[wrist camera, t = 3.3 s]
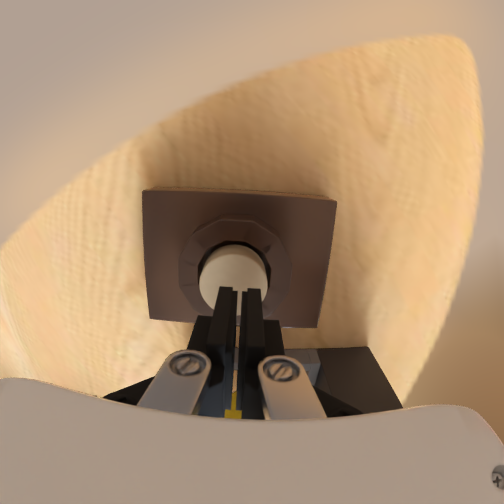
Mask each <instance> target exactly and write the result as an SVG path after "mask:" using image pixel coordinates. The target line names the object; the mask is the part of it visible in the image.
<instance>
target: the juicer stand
mask: <svg viewBox="0 0 504 504" xmlns="http://www.w3.org/2000/svg"><path fill="white" fill-rule="evenodd" d="M238 352H239V348H235V359H234V370H238ZM284 352H285V356H289V357H292V358H294V359H296V360H297V361H299V362H300V363H301V364H302V366H303V367H304V369H305V371H306V373H307V375H308V378H309V380H310V382H311V384H312V385H313V386H315V387H317V388H319V389H320V390H322V391H324V392H326V393H328V394H330V395H331V396H333V397H335V398H337V399H339V400H341V401H343V402H345V403H347V404H349V405H351V406H353V407H355V408H356V409H358V410H360V411H361V412H363V414H370V412H373V413H377V412H383V411H390V410H397V409H403V407H402V405H401V403H400V401H399V399H398V398H397V396H396V394H395V392H394V390H393V389H392V387H391V385H390V383H389V382H388V380H387V378H386V376H385V375H384V373H383V371H382V369H381V368H380V366H379V364H378V363H377V361H376V359H375V357H374V356H373V354H372V352H371V351H370V349H369V347H354V348H332V349H284Z"/></svg>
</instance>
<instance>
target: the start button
mask: <svg viewBox="0 0 504 504" xmlns="http://www.w3.org/2000/svg"><path fill="white" fill-rule="evenodd" d="M220 286H224V287H233V291H238V299H237V315H241V301H242V291H247V288H258V289H261V298H262V301H263V300H264V298H265V296H266V293H267V288H268V282H267V276H266V270H265V266H264V263H263V261H262V259H261V258H260V257H259V255H258V254H257V253H256V252H254V251H253V250H252V249H250V248H248V247H245V246H242V245H236V244H234V245H226V246H223V247H220V248H218V249H216V250H215V251H214V252H213V253H212V254H211V255H210V256H209V257H208V258H207V260H206V262H205V265H204V267H203V270H202V272H201V275H200V280H199V287H200V292H201V295H202V297H203V299H204V300H205V302H206V303H207V304H208V305H209V306H210V307H211V308H212V309H214V307H215V303H216V299H217V295H218V291H219V287H220Z"/></svg>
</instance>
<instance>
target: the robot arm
mask: <svg viewBox="0 0 504 504" xmlns="http://www.w3.org/2000/svg"><path fill="white" fill-rule="evenodd" d="M237 299H238V291H233V287H224V286H220V287H219V291H218V295H217V299H216V303H215V307H214V312H213V316H203V315H198V316H197V319H196V322H195V325H194V328H193V331H192V335H191V338H190V341H189V344H188V347H187V350H180V351H176V352H174V353H172V354H170V355H169V356H168V357H167V358H166V360H165V362H164V363H163V365H162V366H161V368H160V369H159V371H158V372H157V374H156V376H154V377H151V378H149V379H146V380H144V381H141V382H139V383H136V384H134V385H131V386H129V387H126V388H124V389H121V390H118V391H116V392H113V393H110V394H108V395H106V396H104V397H103V398H100V397H97V396H94V395H89V394H86V393H82V392H79V391H75V390H71V389H68V388H64V387H61V386H58V385H54V384H51V383H47V382H43V381H39V380H34V379H27V378H3V379H0V504H504V445H503V444H502V442H501V440H500V439H499V438H498V436H497V435H496V433H495V432H494V431H493V429H492V428H491V427H490V426H489V424H488V423H487V422H486V421H485V420H484V419H483V418H482V417H481V416H480V415H479V414H478V413H477V412H476V411H474V410H472V409H470V408H467V407H464V406H458V405H447V404H435V405H423V406H415V407H409V408H403V409H397V410H390V411H383V412H377V413H373V412H370V414H363V412H361V411H360V410H358V409H356V408H355V407H353V406H351V405H349V404H347V403H345V402H343V401H341V400H339V399H337V398H335V397H333V396H331V395H330V394H328V393H326V392H324V391H322V390H320V389H319V388H317V387H315V386H313V385H312V384H311V382H310V380H309V378H308V375H307V373H306V371H305V369H304V367H303V366H302V364H301V363H300V362H299V361H297V360H296V359H294V358H292V357H289V356H285V352H284V346H283V340H282V334H281V328H280V322H279V320H268V319H263V311H262V298H261V289H258V288H247V291H242V301H241V317H240V334H239V352H238V372H237V394H236V410H240V411H242V415H241V419H231V418H224V417H225V410H231V401H232V387H233V373H234V359H235V343H236V320H237Z"/></svg>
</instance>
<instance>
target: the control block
mask: <svg viewBox="0 0 504 504" xmlns="http://www.w3.org/2000/svg"><path fill="white" fill-rule="evenodd" d="M336 207H337V201H335V200H333V199H331V198H329V197H325V196H315V195H304V194H293V193H280V192H266V191H251V190H233V189H209V188H169V187H153V188H150V189H147V190H143V192H142V213H143V244H144V262H145V276H146V288H147V298H148V308H149V316H150V319H156V320H166V321H176V322H187V323H195V322H196V319H197V316H198V315H203V316H213V312H214V309H212V308H211V307H210V306H209V305H208V304H207V303H206V302H205V300H204V299H203V297H202V295H201V292H200V287H199V280H200V275H201V272H202V270H203V267H204V265H205V262H206V260H207V258H208V257H209V256H210V255H211V254H212V253H213V252H214V251H215V250H216V249H218V248H220V247H223V246H226V245H234V244H236V245H242V246H245V247H248V248H250V249H252V250H253V251H254V252H256V253H257V254H258V255H259V257H260V258H261V259H262V261H263V263H264V266H265V270H266V276H267V282H268V288H267V293H266V296H265V298H264V300H263V301H262V311H263V319H268V320H279V322H280V328H317V326H318V321H319V316H320V311H321V306H322V300H323V295H324V289H325V284H326V278H327V272H328V265H329V259H330V252H331V246H332V239H333V231H334V223H335V215H336ZM240 317H241V315H237V320H236V326H240Z"/></svg>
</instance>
